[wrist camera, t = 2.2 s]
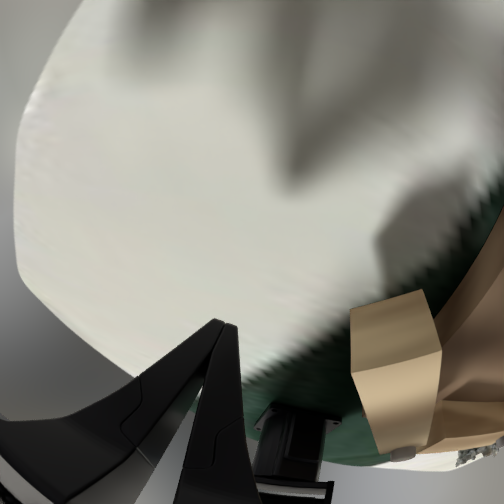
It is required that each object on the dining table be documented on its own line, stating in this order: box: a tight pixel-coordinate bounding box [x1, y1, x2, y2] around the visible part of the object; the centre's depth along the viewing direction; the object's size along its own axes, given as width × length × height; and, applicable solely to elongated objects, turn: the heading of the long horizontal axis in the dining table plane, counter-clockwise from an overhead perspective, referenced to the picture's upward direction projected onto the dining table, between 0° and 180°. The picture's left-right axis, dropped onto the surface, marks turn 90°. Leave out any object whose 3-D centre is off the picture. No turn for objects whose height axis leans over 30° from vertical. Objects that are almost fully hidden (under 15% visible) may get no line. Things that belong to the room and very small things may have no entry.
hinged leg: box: [350, 289, 442, 462], centre depth 10 cm, size 11×3×4 cm, turn 27°
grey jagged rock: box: [456, 442, 499, 467], centre depth 18 cm, size 11×8×4 cm
